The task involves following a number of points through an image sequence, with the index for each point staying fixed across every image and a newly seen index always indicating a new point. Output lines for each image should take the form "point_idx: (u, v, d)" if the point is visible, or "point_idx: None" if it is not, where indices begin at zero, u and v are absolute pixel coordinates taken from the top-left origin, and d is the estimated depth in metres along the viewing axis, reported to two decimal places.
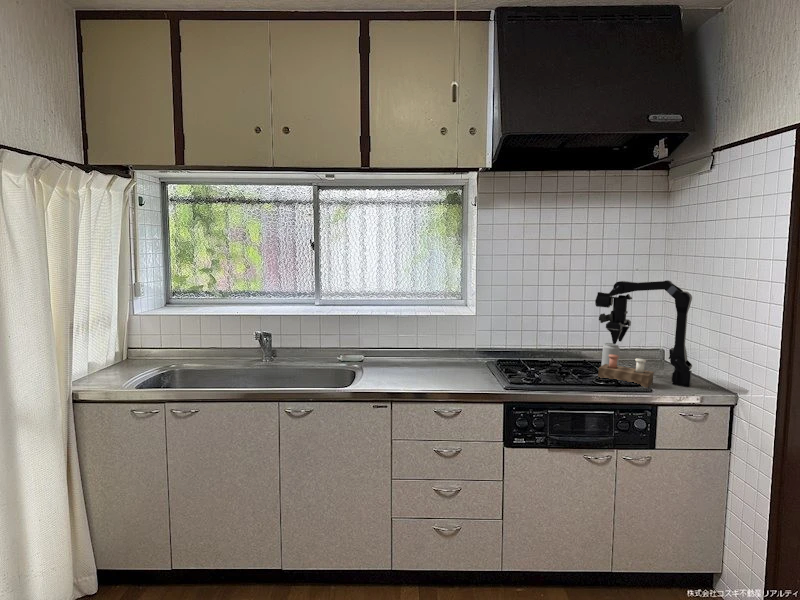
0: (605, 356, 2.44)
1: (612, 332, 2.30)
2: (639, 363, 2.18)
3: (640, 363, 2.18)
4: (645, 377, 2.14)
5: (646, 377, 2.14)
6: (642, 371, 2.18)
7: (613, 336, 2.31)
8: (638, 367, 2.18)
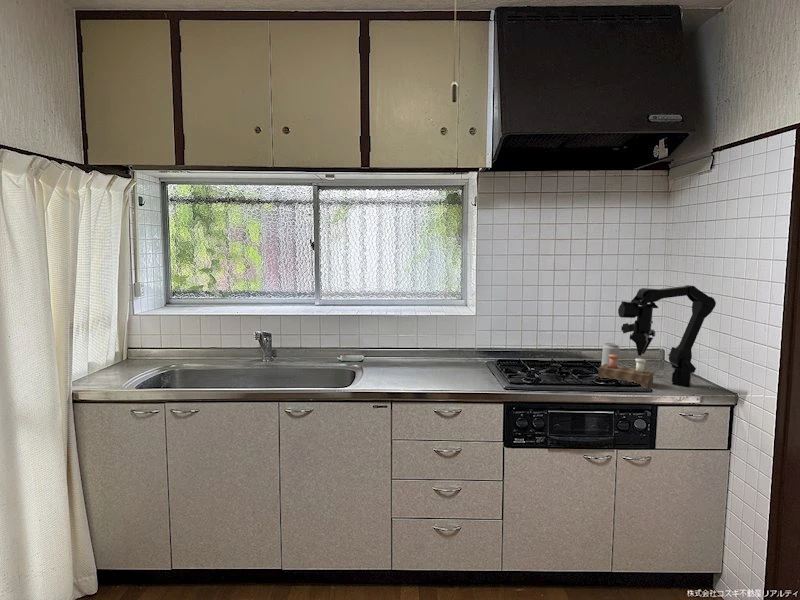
0: (605, 356, 2.44)
1: (637, 343, 2.15)
2: (639, 363, 2.18)
3: (640, 363, 2.18)
4: (645, 377, 2.14)
5: (646, 377, 2.14)
6: (642, 371, 2.18)
7: (638, 347, 2.16)
8: (638, 367, 2.18)
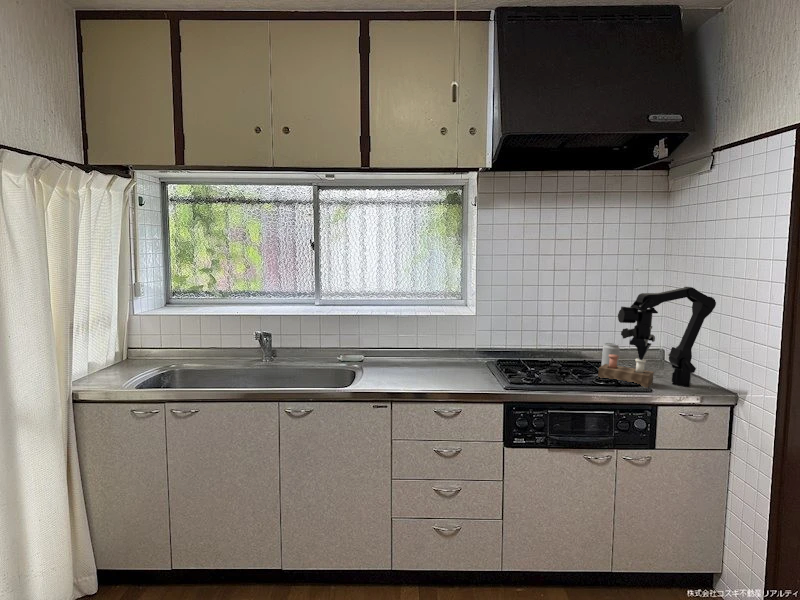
0: (605, 356, 2.44)
1: (639, 347, 2.18)
2: (639, 363, 2.18)
3: (640, 363, 2.18)
4: (645, 377, 2.14)
5: (646, 377, 2.14)
6: (642, 371, 2.18)
7: (640, 351, 2.18)
8: (638, 367, 2.18)
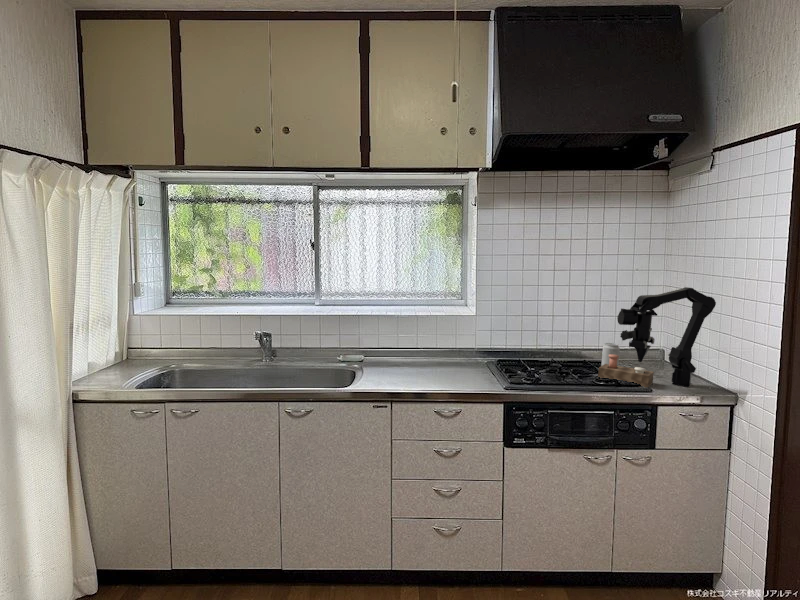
0: (605, 356, 2.44)
1: (638, 349, 2.18)
2: (638, 372, 2.19)
3: (639, 372, 2.18)
4: (645, 377, 2.14)
5: (646, 377, 2.14)
6: None
7: (639, 354, 2.18)
8: None
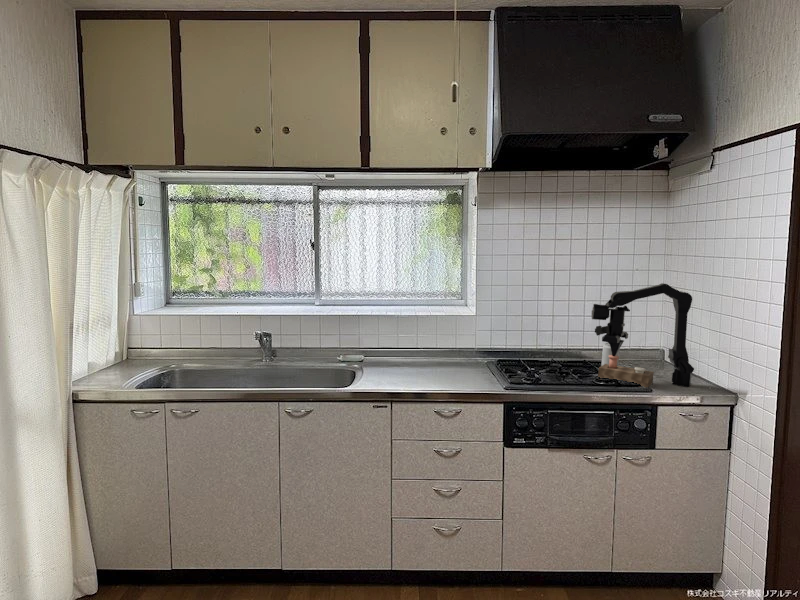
0: (605, 356, 2.44)
1: (611, 344, 2.24)
2: (638, 372, 2.19)
3: (639, 372, 2.18)
4: (645, 377, 2.14)
5: (646, 377, 2.14)
6: None
7: (612, 348, 2.24)
8: None
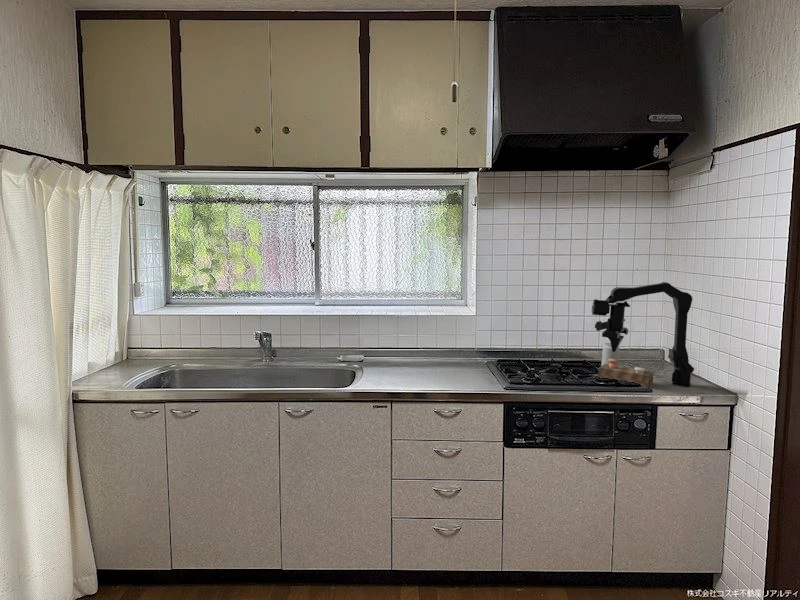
0: (605, 356, 2.44)
1: (611, 340, 2.24)
2: (638, 372, 2.19)
3: (639, 372, 2.18)
4: (645, 377, 2.14)
5: (646, 377, 2.14)
6: None
7: (612, 344, 2.24)
8: None
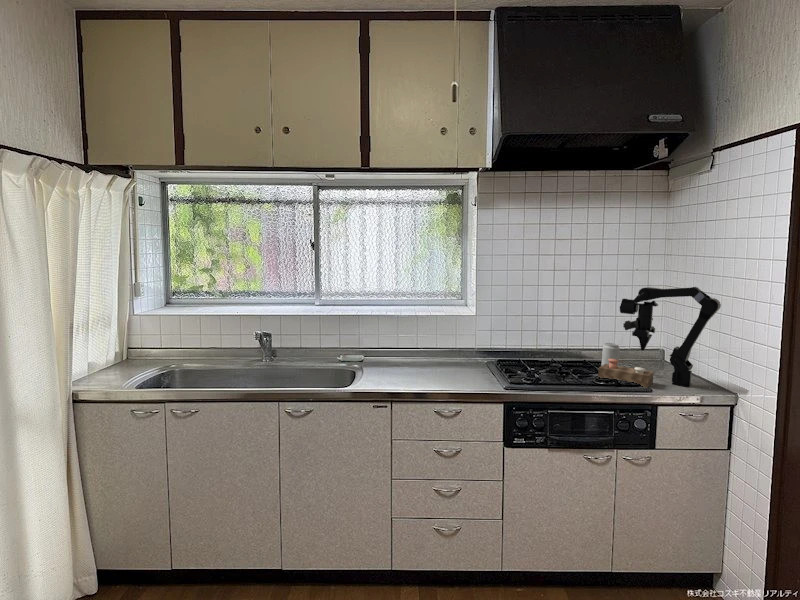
0: (605, 356, 2.44)
1: (640, 338, 2.29)
2: (638, 372, 2.19)
3: (639, 372, 2.18)
4: (645, 377, 2.14)
5: (646, 377, 2.14)
6: None
7: (641, 342, 2.29)
8: None
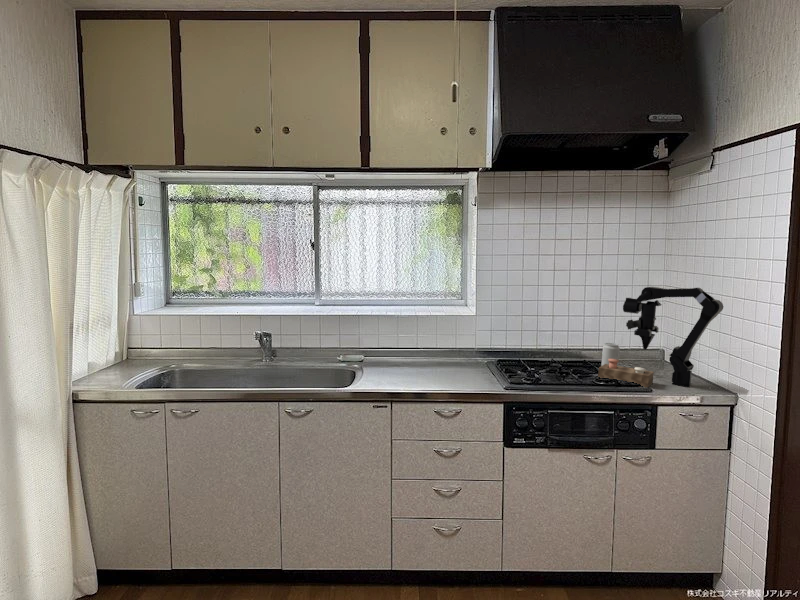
0: (605, 356, 2.44)
1: (643, 338, 2.29)
2: (638, 372, 2.19)
3: (639, 372, 2.18)
4: (645, 377, 2.14)
5: (646, 377, 2.14)
6: None
7: (644, 342, 2.30)
8: None
